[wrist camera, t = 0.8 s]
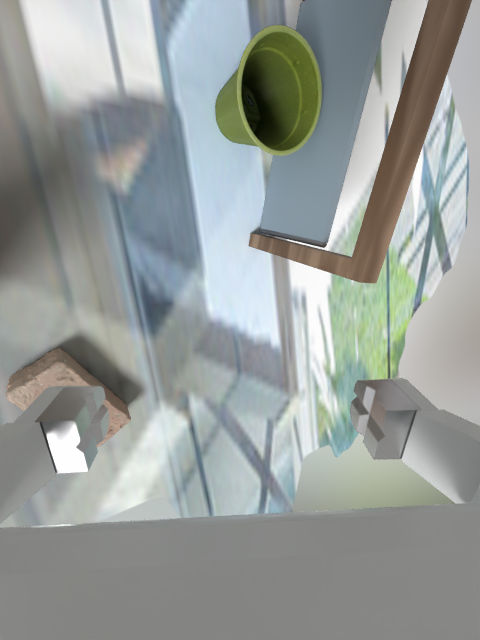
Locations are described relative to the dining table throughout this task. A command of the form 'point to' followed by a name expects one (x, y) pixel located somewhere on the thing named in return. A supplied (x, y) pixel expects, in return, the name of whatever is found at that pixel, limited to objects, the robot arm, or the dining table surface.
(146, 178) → the dining table surface
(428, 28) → the door frame
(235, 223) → the dining table surface
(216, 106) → the plant pot
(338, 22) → the door
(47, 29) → the dining table surface
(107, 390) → the brick
